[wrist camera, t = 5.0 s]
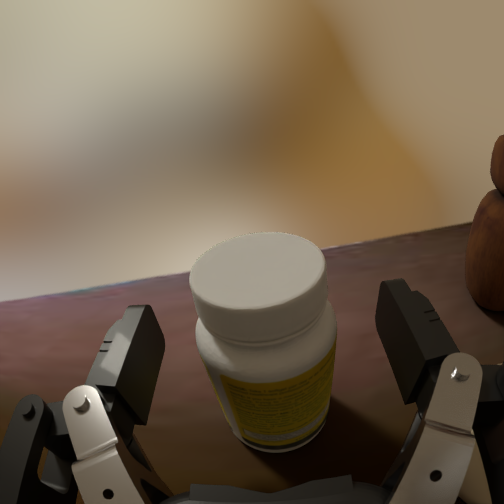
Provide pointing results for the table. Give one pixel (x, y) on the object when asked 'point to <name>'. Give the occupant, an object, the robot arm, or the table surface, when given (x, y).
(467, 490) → the bobbin post
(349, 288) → the table surface
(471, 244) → the wooden figurine
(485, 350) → the table surface
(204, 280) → the supplement bottle
